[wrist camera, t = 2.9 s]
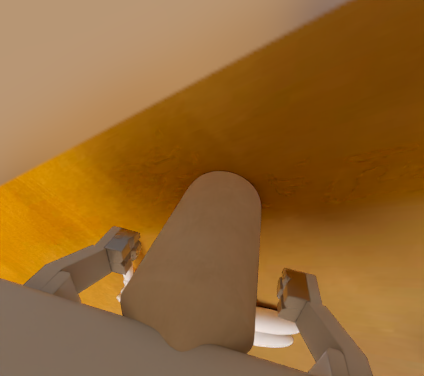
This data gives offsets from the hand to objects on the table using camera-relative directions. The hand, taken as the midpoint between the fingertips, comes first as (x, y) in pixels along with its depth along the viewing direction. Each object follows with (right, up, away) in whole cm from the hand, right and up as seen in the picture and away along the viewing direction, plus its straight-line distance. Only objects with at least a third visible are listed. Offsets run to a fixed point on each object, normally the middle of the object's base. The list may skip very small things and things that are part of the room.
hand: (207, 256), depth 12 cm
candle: (+1, +3, +4) cm, 5 cm away
